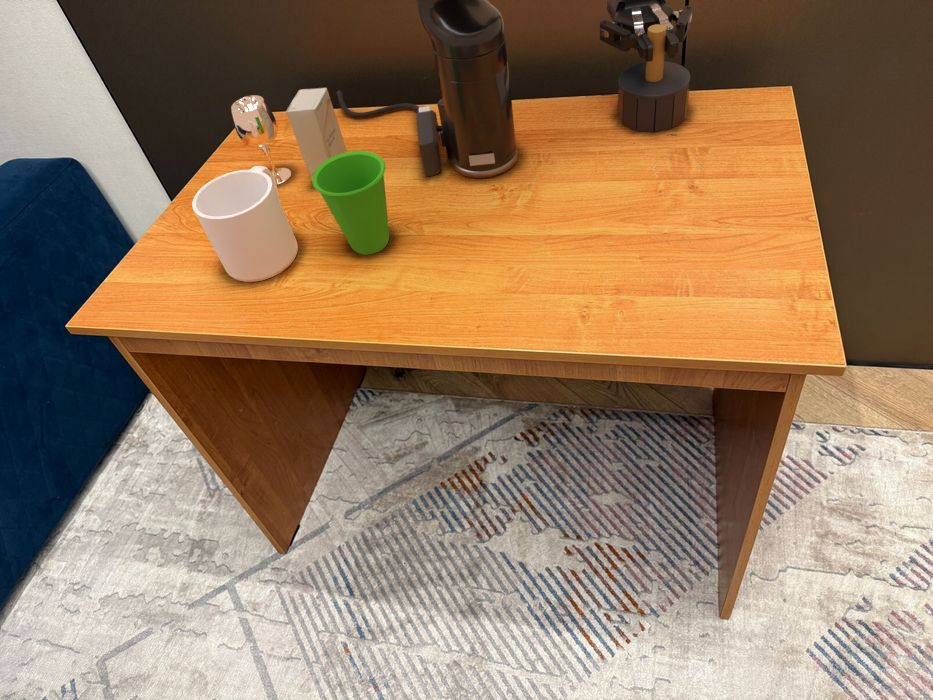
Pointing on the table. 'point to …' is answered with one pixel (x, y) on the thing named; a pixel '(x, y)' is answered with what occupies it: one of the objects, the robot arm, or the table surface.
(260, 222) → the mug
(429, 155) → the usb drive
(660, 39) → the gray cylinder with peg
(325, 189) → the cup
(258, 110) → the wineglass
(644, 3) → the robot arm
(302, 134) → the cosmetic box
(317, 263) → the table surface
